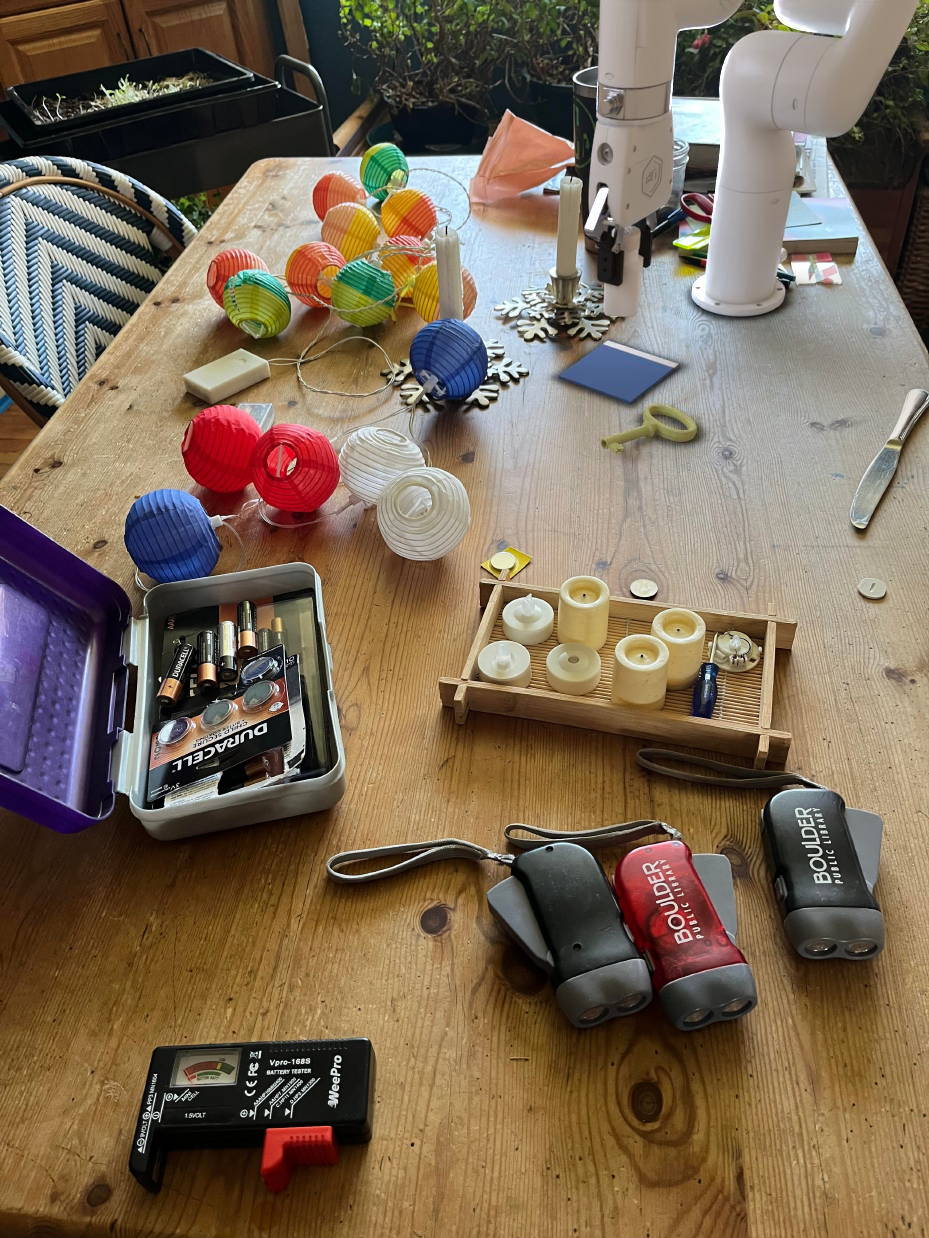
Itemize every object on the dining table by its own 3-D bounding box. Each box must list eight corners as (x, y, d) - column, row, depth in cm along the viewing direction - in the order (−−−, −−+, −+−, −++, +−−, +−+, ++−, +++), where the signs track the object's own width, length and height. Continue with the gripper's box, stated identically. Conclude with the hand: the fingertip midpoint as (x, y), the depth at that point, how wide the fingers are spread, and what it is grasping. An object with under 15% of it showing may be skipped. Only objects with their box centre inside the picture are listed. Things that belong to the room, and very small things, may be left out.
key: (596, 456, 98) (596, 440, 97) (654, 407, 104) (656, 391, 103) (650, 478, 95) (652, 462, 93) (708, 426, 101) (710, 410, 99)
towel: (608, 342, 116) (608, 339, 116) (679, 366, 110) (679, 363, 110) (558, 378, 111) (558, 375, 110) (630, 404, 105) (630, 401, 105)
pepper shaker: (607, 302, 106) (611, 223, 100) (640, 304, 106) (646, 224, 99) (602, 317, 104) (605, 237, 97) (635, 319, 103) (641, 238, 96)
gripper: (616, 128, 82) (608, 310, 95) (710, 81, 91) (691, 254, 104) (553, 117, 86) (553, 293, 99) (649, 73, 95) (638, 241, 107)
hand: (624, 272), depth 101 cm, fingers closed on pepper shaker, 4 cm apart
